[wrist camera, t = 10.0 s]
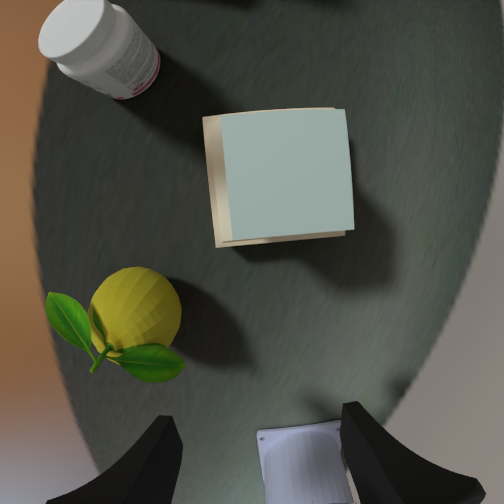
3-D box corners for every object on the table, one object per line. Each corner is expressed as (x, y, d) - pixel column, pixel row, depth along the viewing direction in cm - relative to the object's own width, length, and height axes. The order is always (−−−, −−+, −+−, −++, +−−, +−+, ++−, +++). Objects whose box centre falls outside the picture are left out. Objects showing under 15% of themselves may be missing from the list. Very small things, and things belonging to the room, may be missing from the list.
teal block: (319, 211, 17) (354, 229, 11) (239, 218, 17) (232, 240, 11) (313, 132, 16) (344, 109, 10) (231, 138, 16) (220, 115, 10)
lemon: (101, 260, 20) (13, 315, 10) (171, 235, 20) (103, 286, 10) (135, 339, 22) (80, 426, 12) (204, 323, 21) (174, 422, 11)
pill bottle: (158, 33, 16) (113, -29, 8) (166, 88, 17) (114, 38, 9) (98, 55, 16) (35, 12, 8) (103, 109, 18) (30, 81, 9)
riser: (334, 228, 20) (345, 236, 17) (220, 239, 20) (216, 248, 17) (324, 116, 18) (335, 107, 15) (208, 124, 18) (201, 116, 15)
